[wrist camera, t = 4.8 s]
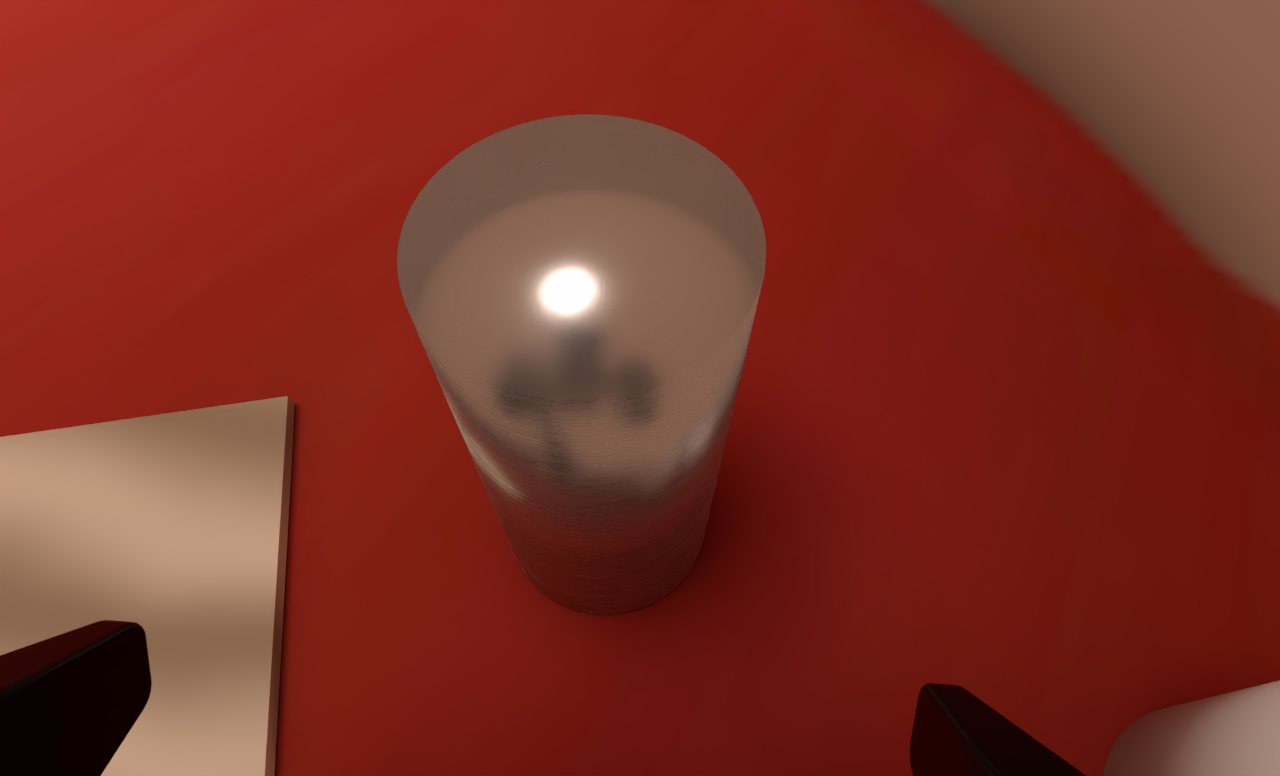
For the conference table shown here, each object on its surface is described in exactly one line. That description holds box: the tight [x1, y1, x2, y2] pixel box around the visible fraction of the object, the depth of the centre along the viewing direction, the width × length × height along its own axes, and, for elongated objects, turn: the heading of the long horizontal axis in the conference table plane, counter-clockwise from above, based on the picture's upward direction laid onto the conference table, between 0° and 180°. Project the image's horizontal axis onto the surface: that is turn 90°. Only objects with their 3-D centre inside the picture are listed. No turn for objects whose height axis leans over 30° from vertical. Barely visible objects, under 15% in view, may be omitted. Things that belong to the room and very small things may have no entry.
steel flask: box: [397, 115, 766, 615], centre depth 18 cm, size 6×6×12 cm
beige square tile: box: [0, 396, 295, 776], centre depth 21 cm, size 13×13×1 cm
